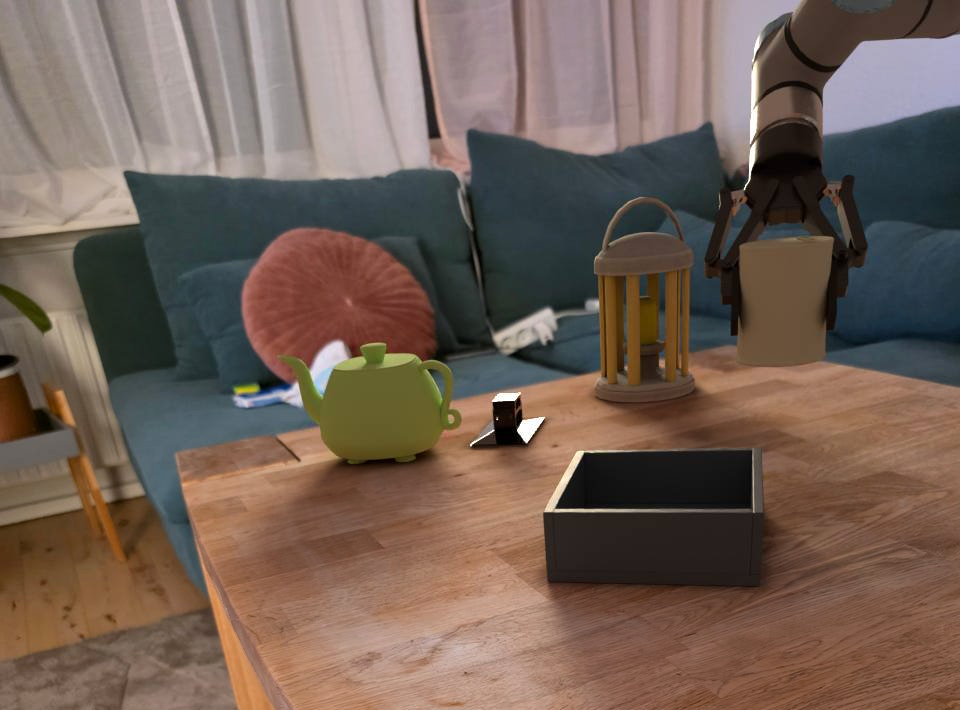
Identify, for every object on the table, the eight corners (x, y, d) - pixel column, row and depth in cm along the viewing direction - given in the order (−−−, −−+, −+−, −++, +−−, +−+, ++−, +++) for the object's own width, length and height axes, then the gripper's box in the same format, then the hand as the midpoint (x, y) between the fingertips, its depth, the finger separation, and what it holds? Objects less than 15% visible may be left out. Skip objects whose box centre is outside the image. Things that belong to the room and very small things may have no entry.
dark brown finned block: (526, 447, 108) (523, 409, 106) (468, 448, 110) (464, 411, 108) (545, 419, 119) (542, 383, 117) (492, 420, 121) (488, 386, 119)
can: (785, 371, 90) (793, 241, 84) (716, 362, 97) (719, 242, 91) (844, 354, 94) (855, 230, 88) (774, 347, 101) (780, 231, 96)
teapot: (275, 474, 108) (252, 363, 101) (317, 439, 120) (299, 339, 114) (451, 468, 103) (438, 351, 97) (476, 432, 116) (466, 327, 110)
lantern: (680, 374, 134) (682, 190, 123) (707, 395, 122) (712, 192, 110) (586, 385, 134) (580, 201, 123) (604, 406, 122) (598, 204, 110)
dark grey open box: (758, 510, 82) (761, 447, 79) (760, 586, 68) (764, 512, 65) (579, 510, 87) (577, 450, 84) (547, 581, 73) (542, 512, 70)
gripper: (886, 163, 98) (889, 341, 91) (686, 184, 103) (676, 352, 97) (899, 105, 91) (903, 293, 84) (683, 131, 97) (673, 308, 90)
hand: (782, 324), depth 91 cm, fingers closed on can, 9 cm apart
